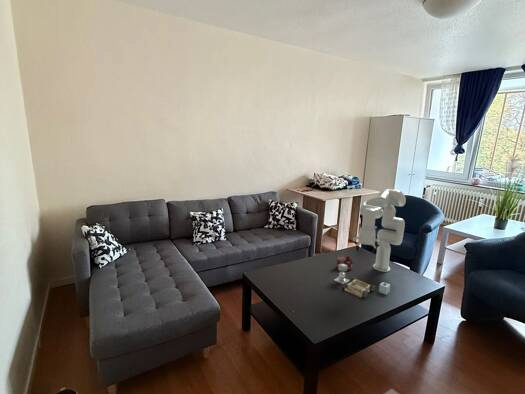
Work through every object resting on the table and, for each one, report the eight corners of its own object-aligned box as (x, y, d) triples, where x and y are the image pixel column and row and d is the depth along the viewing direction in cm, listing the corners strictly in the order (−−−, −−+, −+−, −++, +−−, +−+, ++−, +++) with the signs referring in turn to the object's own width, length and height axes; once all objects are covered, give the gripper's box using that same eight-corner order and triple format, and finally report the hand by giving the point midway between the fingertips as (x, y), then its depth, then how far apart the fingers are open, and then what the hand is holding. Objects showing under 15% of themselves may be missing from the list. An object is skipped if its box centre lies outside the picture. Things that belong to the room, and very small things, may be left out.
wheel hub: (341, 266, 200) (341, 262, 200) (348, 269, 196) (349, 265, 195) (336, 269, 196) (337, 265, 196) (344, 272, 192) (344, 268, 191)
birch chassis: (353, 281, 198) (354, 275, 197) (375, 290, 187) (376, 284, 186) (341, 289, 187) (342, 283, 186) (364, 299, 176) (364, 293, 175)
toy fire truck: (353, 271, 213) (354, 258, 211) (336, 269, 215) (337, 257, 213) (351, 267, 220) (352, 254, 218) (335, 265, 222) (336, 253, 219)
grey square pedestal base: (339, 276, 204) (340, 269, 202) (349, 280, 198) (350, 273, 197) (333, 280, 198) (334, 272, 197) (343, 284, 193) (344, 276, 191)
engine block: (382, 289, 188) (383, 280, 187) (389, 292, 184) (390, 283, 183) (378, 291, 185) (379, 283, 183) (386, 295, 181) (387, 286, 180)
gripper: (382, 227, 178) (379, 252, 181) (354, 223, 184) (351, 248, 187) (383, 230, 171) (380, 256, 174) (353, 227, 177) (351, 252, 180)
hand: (365, 252), depth 181 cm, fingers open, 9 cm apart
